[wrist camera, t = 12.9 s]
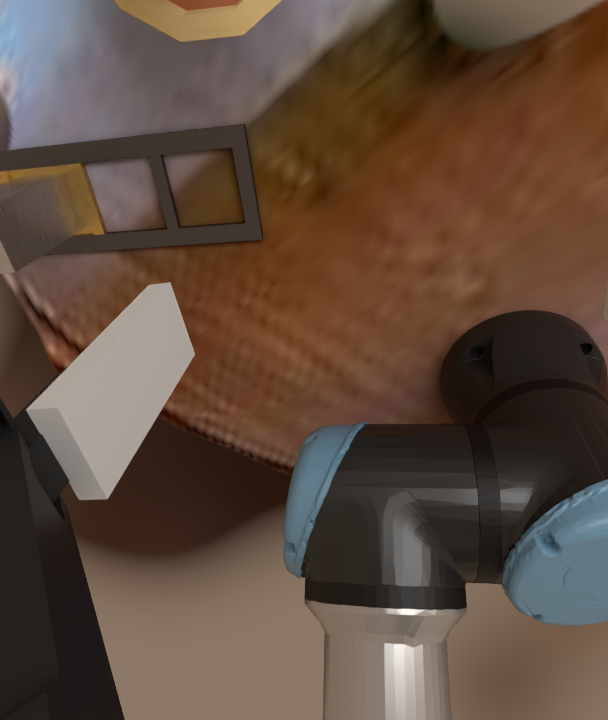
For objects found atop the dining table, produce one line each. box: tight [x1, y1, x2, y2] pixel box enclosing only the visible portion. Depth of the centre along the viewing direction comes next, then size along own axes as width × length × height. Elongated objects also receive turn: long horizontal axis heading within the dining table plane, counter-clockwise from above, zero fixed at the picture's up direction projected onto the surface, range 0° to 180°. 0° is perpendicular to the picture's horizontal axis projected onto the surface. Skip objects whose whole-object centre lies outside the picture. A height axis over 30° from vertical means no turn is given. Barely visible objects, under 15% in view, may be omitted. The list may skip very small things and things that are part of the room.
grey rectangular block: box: [0, 172, 86, 273], centre depth 41 cm, size 5×5×11 cm
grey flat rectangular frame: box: [0, 124, 263, 255], centre depth 44 cm, size 10×24×1 cm, turn 96°
